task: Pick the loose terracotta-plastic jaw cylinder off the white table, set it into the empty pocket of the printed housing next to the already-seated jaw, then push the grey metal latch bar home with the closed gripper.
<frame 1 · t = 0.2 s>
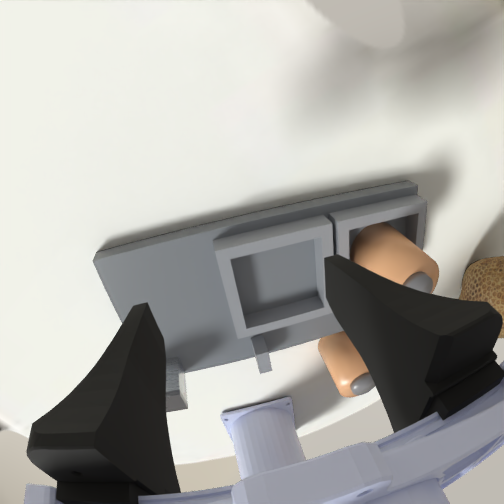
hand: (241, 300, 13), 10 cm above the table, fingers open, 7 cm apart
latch: (165, 385, 24), point 3 cm above the table, slide at 0.0 cm, touching housing
housing: (274, 283, 25), on the table
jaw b: (338, 340, 30), on the table
natural sponge: (469, 270, 30), on the table
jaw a: (374, 247, 24), point 1 cm above the table, touching housing
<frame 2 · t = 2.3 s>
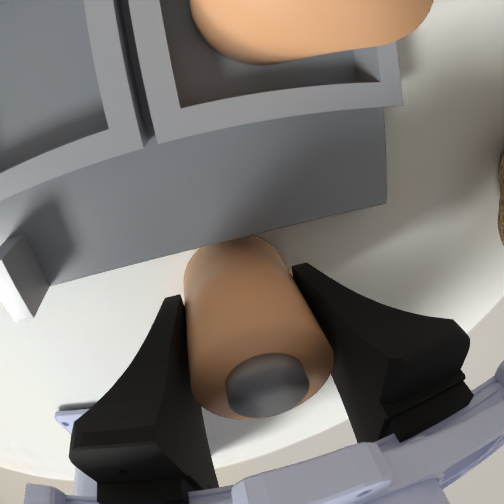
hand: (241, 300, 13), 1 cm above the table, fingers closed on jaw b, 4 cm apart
housing: (43, 114, 9), on the table
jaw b: (235, 281, 14), on the table, touching gripper
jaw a: (259, 3, 8), point 1 cm above the table, touching housing
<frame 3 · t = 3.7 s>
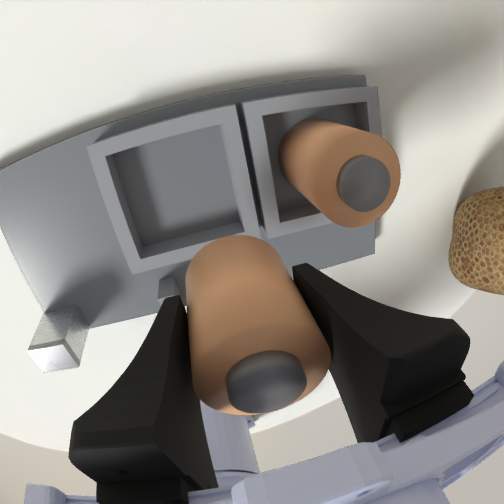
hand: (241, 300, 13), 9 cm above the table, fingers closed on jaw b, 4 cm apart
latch: (59, 338, 18), point 3 cm above the table, slide at 0.0 cm, touching housing
housing: (184, 207, 19), on the table
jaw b: (235, 280, 14), point 7 cm above the table, touching gripper
natural sponge: (462, 214, 24), on the table
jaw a: (314, 155, 18), point 1 cm above the table, touching housing
when the fingers open (4 cm above the table, at t = 5.2 s): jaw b drops 1 cm, resting on housing.
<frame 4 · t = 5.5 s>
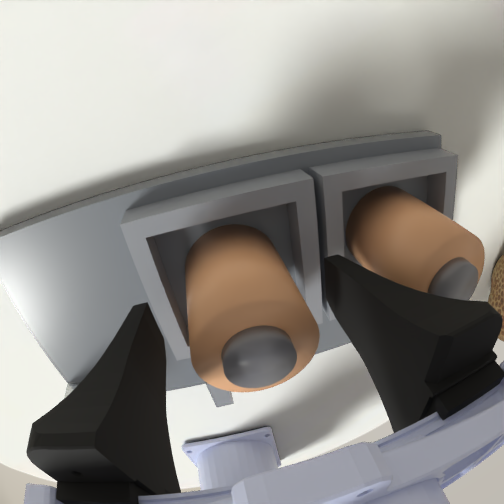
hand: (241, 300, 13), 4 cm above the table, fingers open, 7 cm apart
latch: (90, 414, 16), point 3 cm above the table, slide at 0.0 cm, touching housing
housing: (233, 280, 17), on the table
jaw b: (232, 267, 15), point 1 cm above the table, touching housing
natural sponge: (499, 263, 22), on the table
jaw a: (382, 226, 16), point 1 cm above the table, touching housing
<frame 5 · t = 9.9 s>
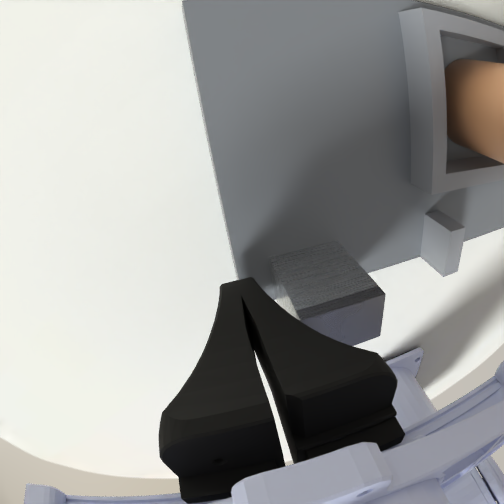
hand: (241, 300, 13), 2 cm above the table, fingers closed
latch: (323, 295, 12), point 3 cm above the table, slide at 1.4 cm, touching gripper, housing
housing: (450, 128, 13), on the table
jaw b: (467, 103, 11), point 1 cm above the table, touching housing
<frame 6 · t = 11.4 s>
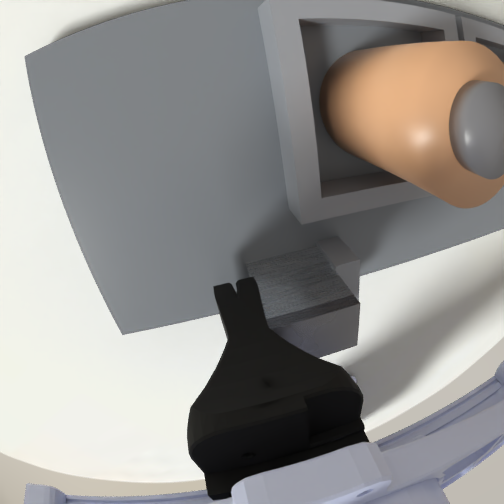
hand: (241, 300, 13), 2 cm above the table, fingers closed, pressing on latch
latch: (299, 302, 12), point 3 cm above the table, slide at 6.2 cm, touching gripper, housing
housing: (358, 136, 13), on the table
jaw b: (371, 104, 11), point 1 cm above the table, touching housing
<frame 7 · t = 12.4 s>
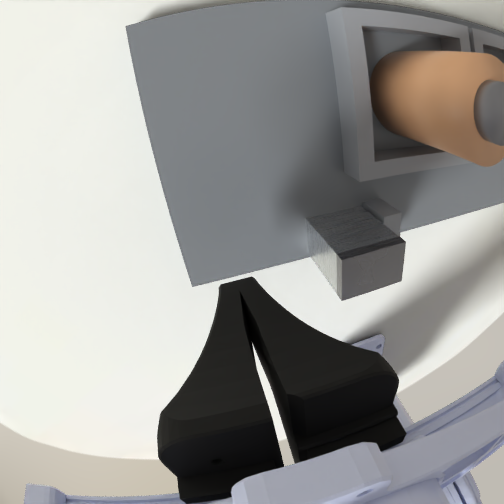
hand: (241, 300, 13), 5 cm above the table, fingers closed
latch: (352, 248, 14), point 3 cm above the table, slide at 6.0 cm, touching housing
housing: (392, 119, 15), on the table
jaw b: (405, 93, 13), point 1 cm above the table, touching housing
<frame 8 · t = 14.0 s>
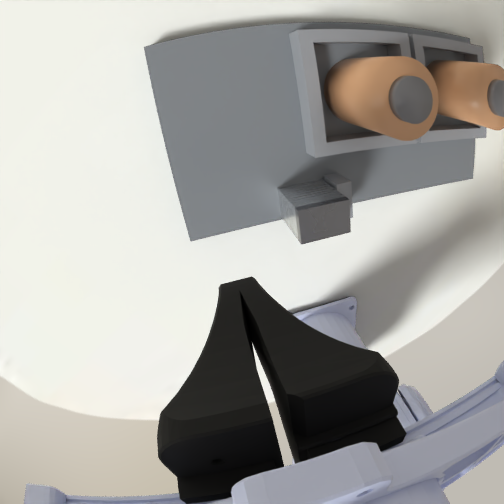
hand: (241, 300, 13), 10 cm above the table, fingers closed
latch: (312, 208, 19), point 3 cm above the table, slide at 6.0 cm, touching housing
housing: (348, 111, 20), on the table
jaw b: (355, 91, 18), point 1 cm above the table, touching housing
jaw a: (442, 87, 18), point 1 cm above the table, touching housing
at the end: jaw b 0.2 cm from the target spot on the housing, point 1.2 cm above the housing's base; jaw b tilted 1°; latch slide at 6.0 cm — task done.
